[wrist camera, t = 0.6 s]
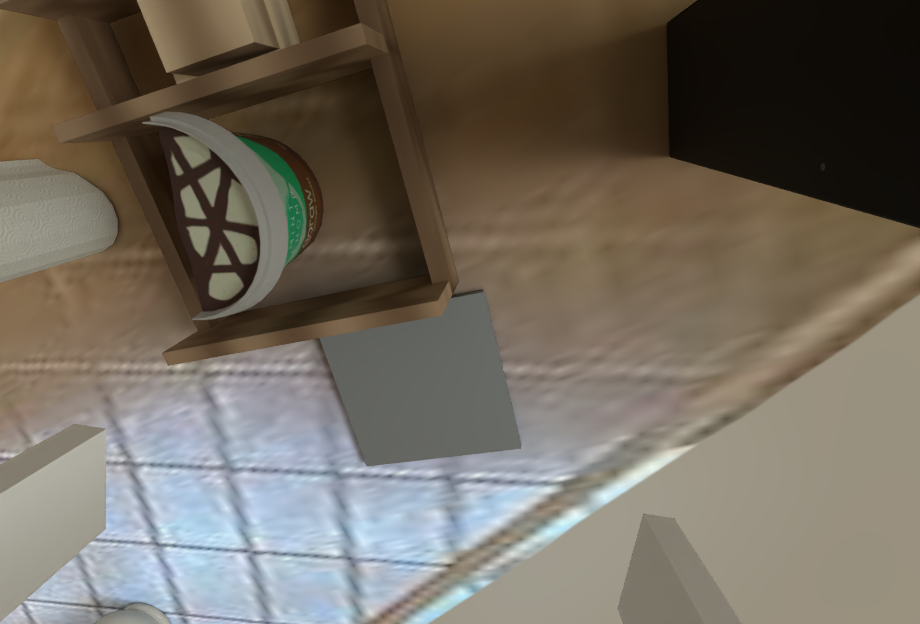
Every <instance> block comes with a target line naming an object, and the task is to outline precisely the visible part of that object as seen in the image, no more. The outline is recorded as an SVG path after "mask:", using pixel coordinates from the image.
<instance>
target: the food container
mask: <svg viewBox="0 0 920 624" xmlns="http://www.w3.org/2000/svg"><path fill="white" fill-rule="evenodd" d="M150 119H151V121H148V122H142V123H143V124H149V125H156V126H157V127H158V132H159V137H160V142H161V144H162V147H163V150H164V153H165V157H166V161H167V166H168V170H169V174H170V179H171V185H172V193H173V201H174V209H175V215H176V221H177V226H178V229H179V232H180V236H181V239H182V242H183V244H184V247H185V250H186V252H187V255H188V258H189V260H190V264H191V267H192V270H193V274H194V278H195V282H196V286H197V290H198V294H199V299H200V303H201V307H202V312H200V313H199V314H198V315H196V316H195V317H194V318H192V320H209V319H216V318H220V317H224V316H228V315H231V314H235V313H238V312H241V311H244V310H246V309H248V308H250V307H252V306H254V305H255V304H257V303H258V302H260V301H261V300H262V299H263V298H264V297H265V296H266V295H267V294H268V293H269V292H270V291H271V290H272V289H273V287H274V286H275V284H276V283H277V281H278V280H279V277H280V275H281V273H282V270H283V268H284V267H285V266H286V265H288V264H289V263H290V262H291V261H292V260H294V259H295V258H296V257H297V256H298V255H300V254H301V253H302V252H303V251H304V250H305V249H306V248H307V247H308V246H309V245H310V244H311V243H312V242H313V241H314V239H315V237H316V235H317V233H318V231H319V229H320V227H321V224H322V217H323V199H322V194H321V190H320V187H319V184H318V182H317V179H316V177H315V176H314V174H313V172H312V170H311V169H310V168H309V166H308V165H307V163H306V162H305V161H304V160H303V159H302V158H301V157H300V156H299V155H298V154H297V153H296V152H294V151H293V150H292V149H291V148H289V147H288V146H286V145H284V144H282V143H280V142H278V141H276V140H273V139H270V138H266V137H262V136H256V135H249V134H242V133H235V132H229V131H228V130H226V129H224V128H223V127H221V126H219V125H217V124H216V123H214V122H212V121H209V120H207V119H204V118H201V117H199V116H196V115H191V114H186V113H182V112H164V113H160V114H157V115H154V116H150Z"/></svg>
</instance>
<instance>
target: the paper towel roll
mask: <svg viewBox="0 0 920 624" xmlns="http://www.w3.org/2000/svg"><path fill="white" fill-rule="evenodd" d="M117 234H118V218H117V216H116V213H115V210H114V208H113V205H112V204H111V202H110V201H109V200H108V198H107V197H106V196H105V194H104V193H103V192H102V191H101V190H99V189H98V188H97V187H95V186H94V185H92V184H91V183H89V182H88V181H86V180H85V179H83V178H81V177H80V176H78V175H77V174H75V173H72V172H67V171H62V170H57V169H55V168H52V167H50V166H48V165H46V164H44V163H43V162H41V161H40V160H39V159H29V160H17V161H4V162H0V283H1V282H4V281H8V280H11V279H14V278H17V277H21V276H24V275H27V274H31V273H34V272H37V271H41V270H44V269H47V268H50V267H54V266H57V265H60V264H64V263H67V262H70V261H74V260H77V259H80V258H83V257H87V256H90V255H93V254H97V253H100V252H103V251H104V250H105V249H107V248H108V247H110V246H111V245H112V244H113V243H114V241H115V238H116V236H117Z"/></svg>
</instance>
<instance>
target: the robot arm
mask: <svg viewBox="0 0 920 624" xmlns="http://www.w3.org/2000/svg"><path fill="white" fill-rule="evenodd" d="M105 529H106V429H103V428H97V427H91V426H84V425H78V424H73V425H72V426H70V427H68V428H66V429H64V430H62V431H61V432H59V433H57V434H55V435H53V436H52V437H50V438H48V439H46V440H44V441H43V442H41V443H39V444H37V445H35V446H33V447H32V448H30V449H28V450H26V451H24V452H23V453H21V454H19V455H17V456H15V457H14V458H12V459H10V460H8V461H6V462H4V463H3V464H1V465H0V622H1V621H2V620H3V619H4V618H5V617H7V616H8V615H9V614H10V613H11V612H12V611H13V610H14V609H16V608H17V607H18V606H19V605H20V604H21V603H22V602H23V601H25V600H26V599H27V598H28V597H29V596H30V595H31V594H33V593H34V592H35V591H36V590H37V589H38V588H39V587H40V586H42V585H43V584H44V583H45V582H46V581H47V580H48V579H49V578H51V577H52V576H53V575H54V574H55V573H56V572H57V571H59V570H60V569H61V568H62V567H63V566H64V565H65V564H66V563H68V562H69V561H70V560H71V559H72V558H73V557H74V556H75V555H77V554H78V553H79V552H80V551H81V550H82V549H83V548H85V547H86V546H87V545H88V544H89V543H90V542H91V541H92V540H94V539H95V538H96V537H97V536H98V535H99V534H100V533H101V532H103V531H104V530H105ZM618 611H619V614H620V616H621V619H622V622H623V624H742V623H741V621H740V620H739V618H738V616H737V615H736V613H735V612H734V610H733V609H732V607H731V606H730V604H729V603H728V601H727V599H726V598H725V596H724V595H723V593H722V592H721V590H720V589H719V587H718V585H717V584H716V582H715V581H714V579H713V578H712V576H711V575H710V573H709V572H708V570H707V568H706V567H705V565H704V564H703V562H702V561H701V559H700V558H699V556H698V554H697V553H696V551H695V550H694V548H693V547H692V545H691V544H690V542H689V541H688V539H687V538H686V536H685V535H684V533H683V531H682V530H681V528H680V527H679V525H678V524H677V522H676V521H675V519H674V518H668V517H661V516H655V515H648V514H643V517H642V520H641V524H640V528H639V531H638V535H637V539H636V542H635V546H634V550H633V553H632V557H631V561H630V565H629V569H628V572H627V576H626V579H625V583H624V587H623V591H622V594H621V598H620V601H619V605H618Z"/></svg>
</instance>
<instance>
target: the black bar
mask: <svg viewBox="0 0 920 624" xmlns="http://www.w3.org/2000/svg"><path fill="white" fill-rule="evenodd" d="M667 60H668V101H669V143H670V157H671V158H675V159H678V160H682V161H685V162H689V163H692V164H696V165H699V166H703V167H706V168H710V169H714V170H717V171H721V172H724V173H728V174H731V175H735V176H738V177H742V178H745V179H749V180H752V181H756V182H759V183H763V184H766V185H770V186H773V187H777V188H780V189H784V190H787V191H791V192H794V193H798V194H801V195H805V196H808V197H812V198H815V199H819V200H823V201H826V202H830V203H833V204H837V205H840V206H844V207H847V208H851V209H854V210H858V211H861V212H865V213H868V214H872V215H875V216H879V217H882V218H886V219H889V220H893V221H896V222H900V223H903V224H907V225H910V226H914V227H917V228H920V0H697V1H696V2H694V3H693V4H692V5H690V6H689V7H688V8H686V9H685V10H684V11H682V12H681V13H680V14H678V15H677V16H676V17H674V18H673V19H672V20H670V21H669V22H668V23H667Z"/></svg>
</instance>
